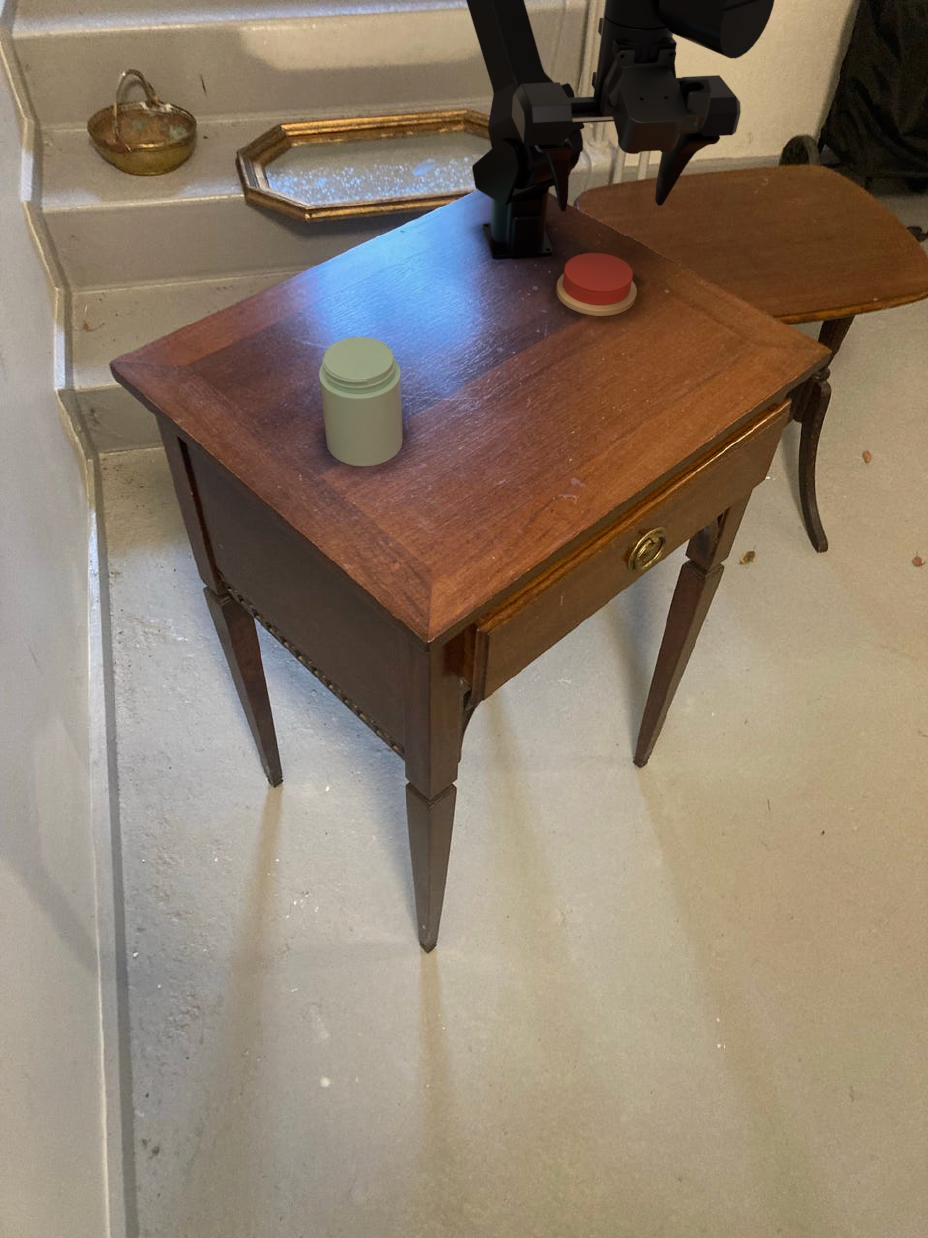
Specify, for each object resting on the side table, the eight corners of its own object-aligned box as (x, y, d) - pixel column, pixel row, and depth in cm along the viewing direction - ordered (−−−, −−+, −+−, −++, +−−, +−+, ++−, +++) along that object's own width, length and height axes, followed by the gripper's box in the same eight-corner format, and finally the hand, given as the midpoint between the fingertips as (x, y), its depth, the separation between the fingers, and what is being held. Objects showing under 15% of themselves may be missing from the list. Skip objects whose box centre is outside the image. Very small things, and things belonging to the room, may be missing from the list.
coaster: (548, 273, 95) (549, 267, 95) (623, 268, 96) (624, 263, 96) (566, 318, 90) (566, 313, 90) (645, 313, 91) (646, 307, 91)
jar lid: (595, 259, 96) (597, 245, 95) (644, 288, 93) (647, 273, 92) (548, 283, 93) (550, 268, 92) (597, 313, 90) (600, 298, 89)
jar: (324, 419, 80) (314, 335, 74) (398, 413, 81) (395, 329, 74) (329, 470, 76) (319, 386, 70) (407, 463, 77) (405, 379, 70)
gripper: (547, 61, 68) (530, 259, 80) (788, 51, 70) (736, 245, 82) (517, 5, 75) (505, 195, 87) (737, -3, 77) (696, 184, 89)
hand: (610, 206), depth 86 cm, fingers open, 9 cm apart
